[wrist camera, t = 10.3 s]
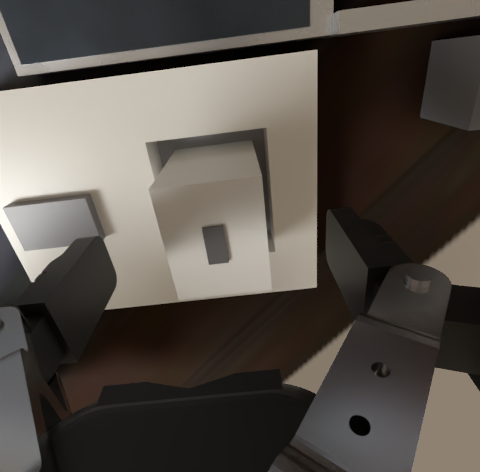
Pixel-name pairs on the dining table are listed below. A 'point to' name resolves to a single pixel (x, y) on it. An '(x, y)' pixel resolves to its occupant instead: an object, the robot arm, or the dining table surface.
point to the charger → (213, 220)
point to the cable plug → (453, 83)
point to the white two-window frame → (189, 27)
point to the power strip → (157, 164)
